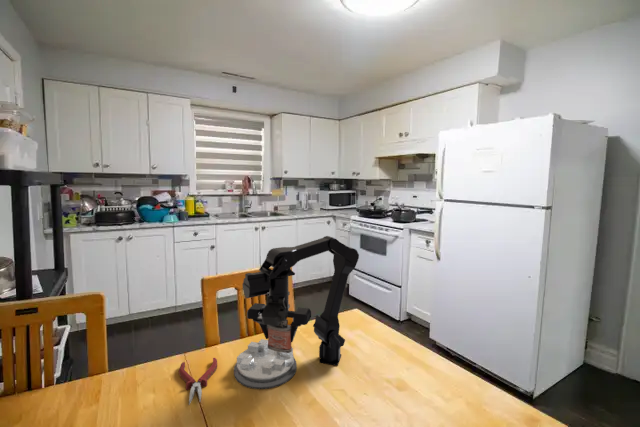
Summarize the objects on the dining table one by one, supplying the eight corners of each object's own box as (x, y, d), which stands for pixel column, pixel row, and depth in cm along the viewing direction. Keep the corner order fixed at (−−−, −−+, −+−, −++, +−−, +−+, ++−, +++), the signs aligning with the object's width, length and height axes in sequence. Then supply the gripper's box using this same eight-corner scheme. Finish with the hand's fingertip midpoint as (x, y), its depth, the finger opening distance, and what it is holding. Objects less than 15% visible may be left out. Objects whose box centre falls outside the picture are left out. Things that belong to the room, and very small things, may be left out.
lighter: (294, 348, 97) (293, 317, 96) (288, 354, 94) (288, 322, 93) (271, 343, 100) (270, 313, 99) (265, 348, 97) (264, 317, 96)
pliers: (171, 411, 84) (171, 402, 84) (180, 368, 103) (180, 360, 103) (217, 403, 88) (216, 394, 87) (217, 362, 107) (217, 355, 106)
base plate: (304, 356, 110) (304, 353, 110) (283, 394, 91) (283, 390, 91) (251, 348, 115) (251, 345, 115) (221, 382, 96) (221, 378, 96)
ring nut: (300, 353, 109) (301, 342, 109) (281, 386, 92) (281, 373, 91) (253, 346, 114) (252, 335, 113) (225, 376, 96) (225, 363, 96)
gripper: (237, 298, 89) (239, 350, 91) (301, 304, 85) (301, 358, 87) (254, 285, 100) (255, 331, 102) (311, 289, 96) (311, 338, 98)
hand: (279, 340), depth 97 cm, fingers closed on lighter, 8 cm apart
